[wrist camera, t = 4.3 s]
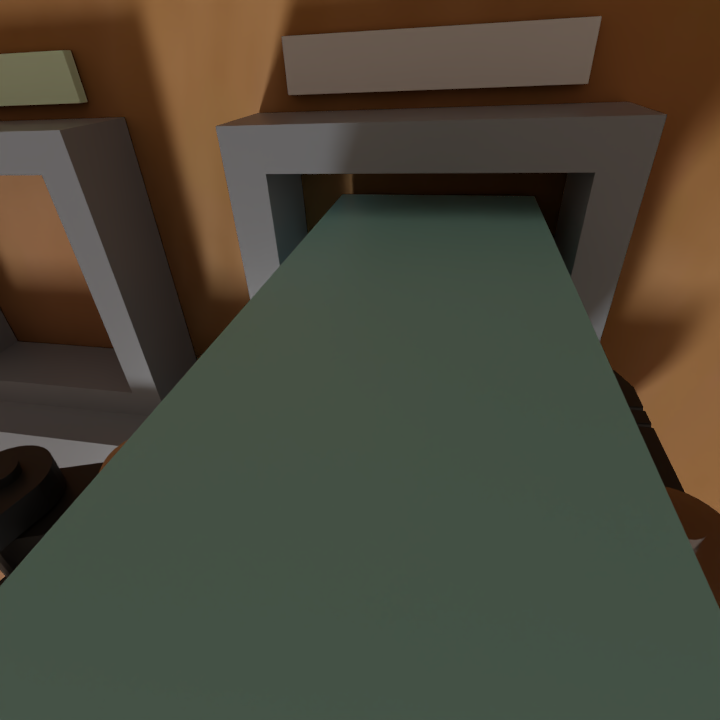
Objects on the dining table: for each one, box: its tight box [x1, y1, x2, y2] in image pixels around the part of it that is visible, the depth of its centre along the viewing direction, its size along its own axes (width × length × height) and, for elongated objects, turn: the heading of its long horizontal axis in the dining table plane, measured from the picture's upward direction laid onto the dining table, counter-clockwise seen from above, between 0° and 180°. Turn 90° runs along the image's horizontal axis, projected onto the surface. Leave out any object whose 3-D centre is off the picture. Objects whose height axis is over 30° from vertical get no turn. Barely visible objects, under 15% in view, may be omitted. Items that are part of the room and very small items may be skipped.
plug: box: [0, 194, 720, 720], centre depth 8 cm, size 5×5×13 cm
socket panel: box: [0, 16, 667, 468], centre depth 13 cm, size 24×12×4 cm, turn 93°
